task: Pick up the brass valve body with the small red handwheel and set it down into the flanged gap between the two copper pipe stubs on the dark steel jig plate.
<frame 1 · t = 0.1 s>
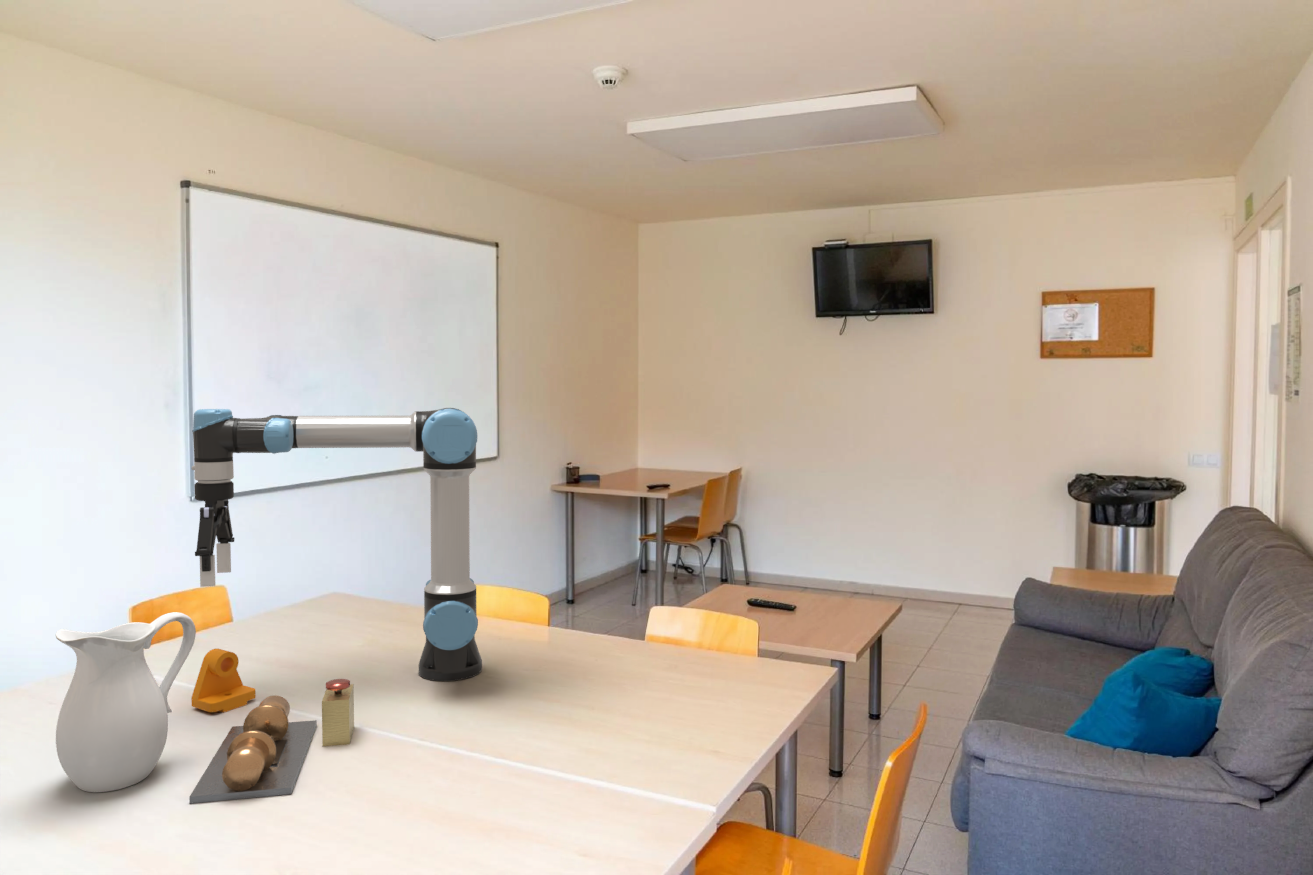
hand: (216, 579, 191), 28 cm above the table, fingers open, 13 cm apart
bracket: (225, 706, 194), on the table
valve: (338, 736, 178), on the table
pitcher: (134, 772, 161), on the table
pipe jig: (259, 760, 166), on the table
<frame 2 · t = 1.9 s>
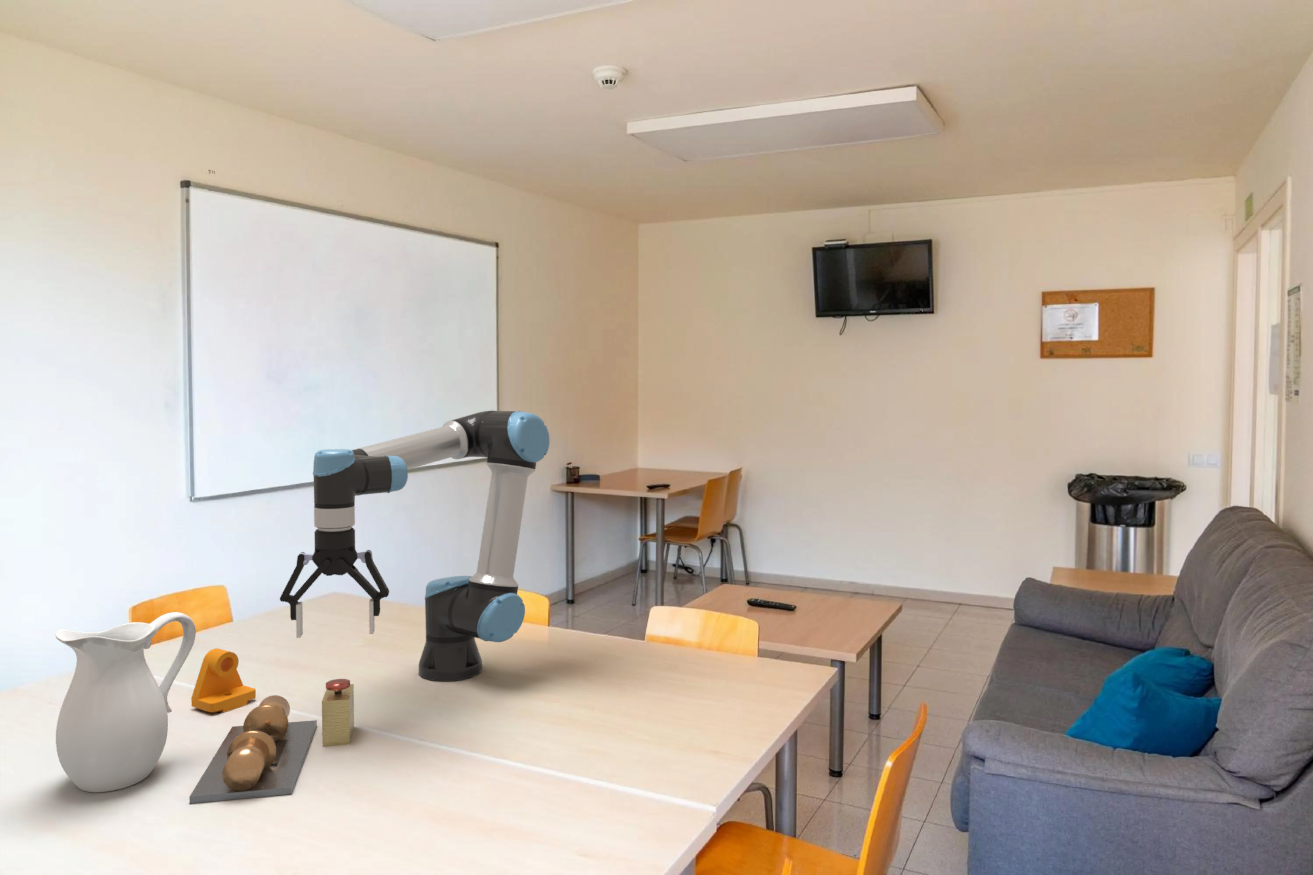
hand: (336, 634, 176), 21 cm above the table, fingers open, 13 cm apart
nothing on the table moved.
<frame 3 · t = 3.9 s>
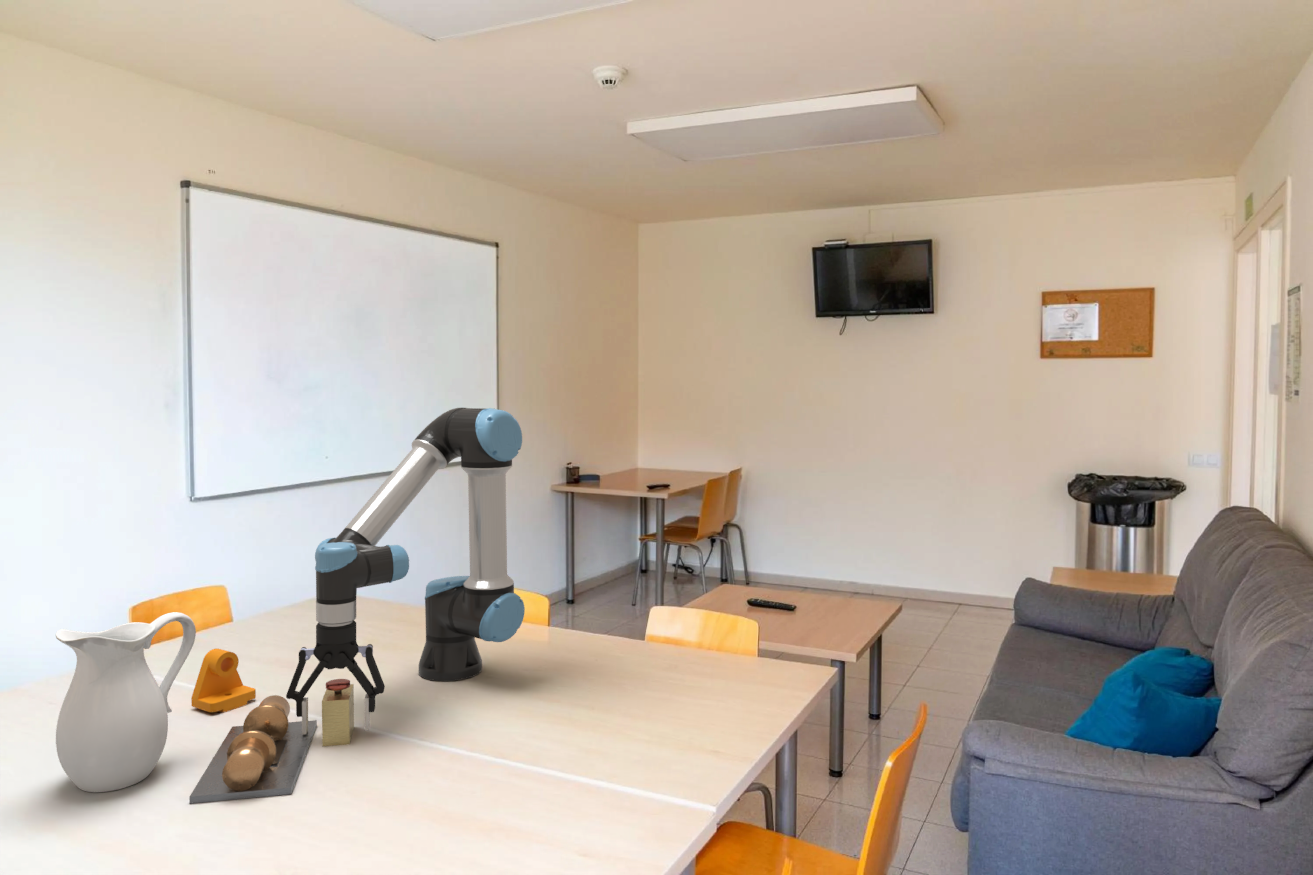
hand: (336, 729, 177), 1 cm above the table, fingers open, 11 cm apart
nothing on the table moved.
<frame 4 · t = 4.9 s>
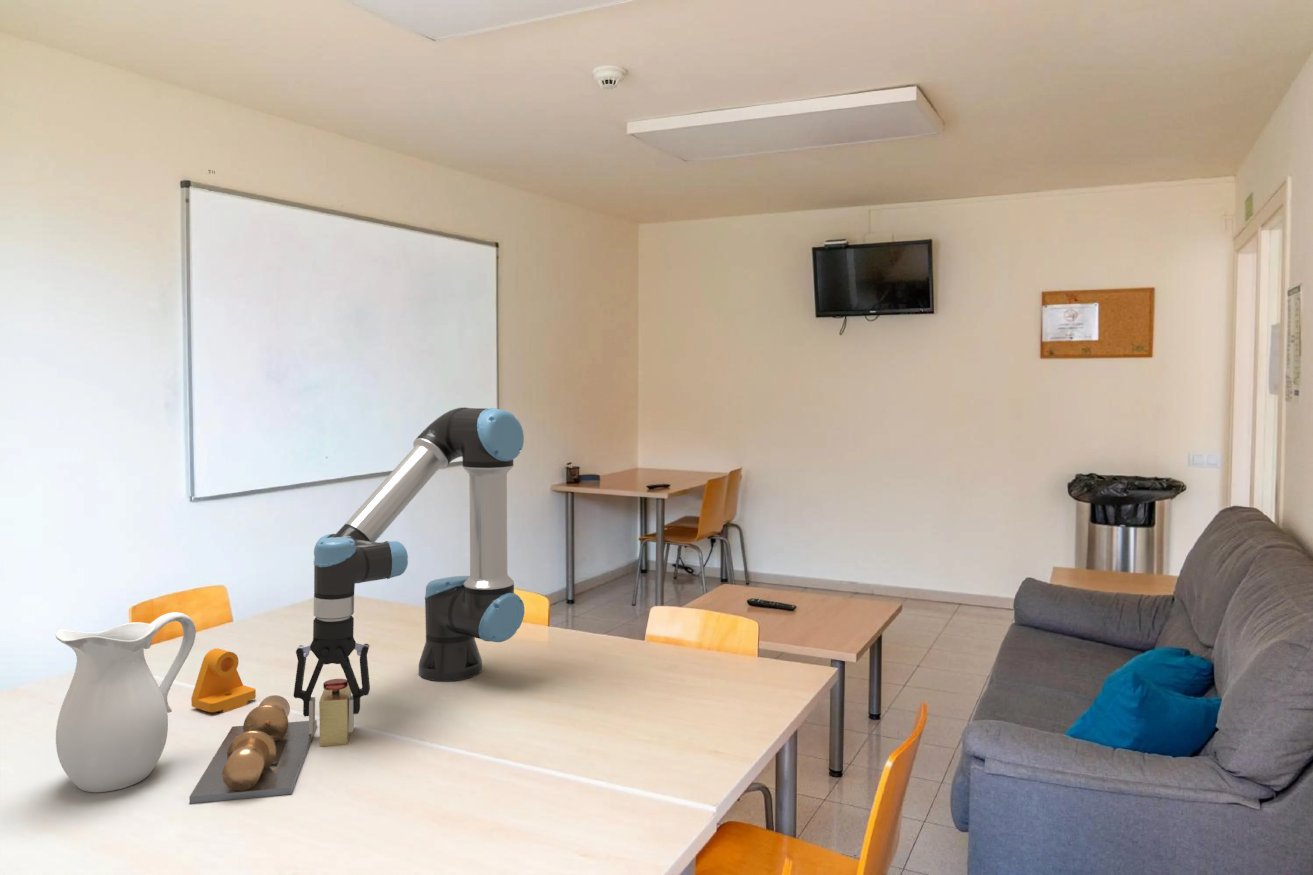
hand: (331, 730, 177), 1 cm above the table, fingers open, 7 cm apart
valve: (336, 736, 177), on the table, touching gripper
everything else where it was.
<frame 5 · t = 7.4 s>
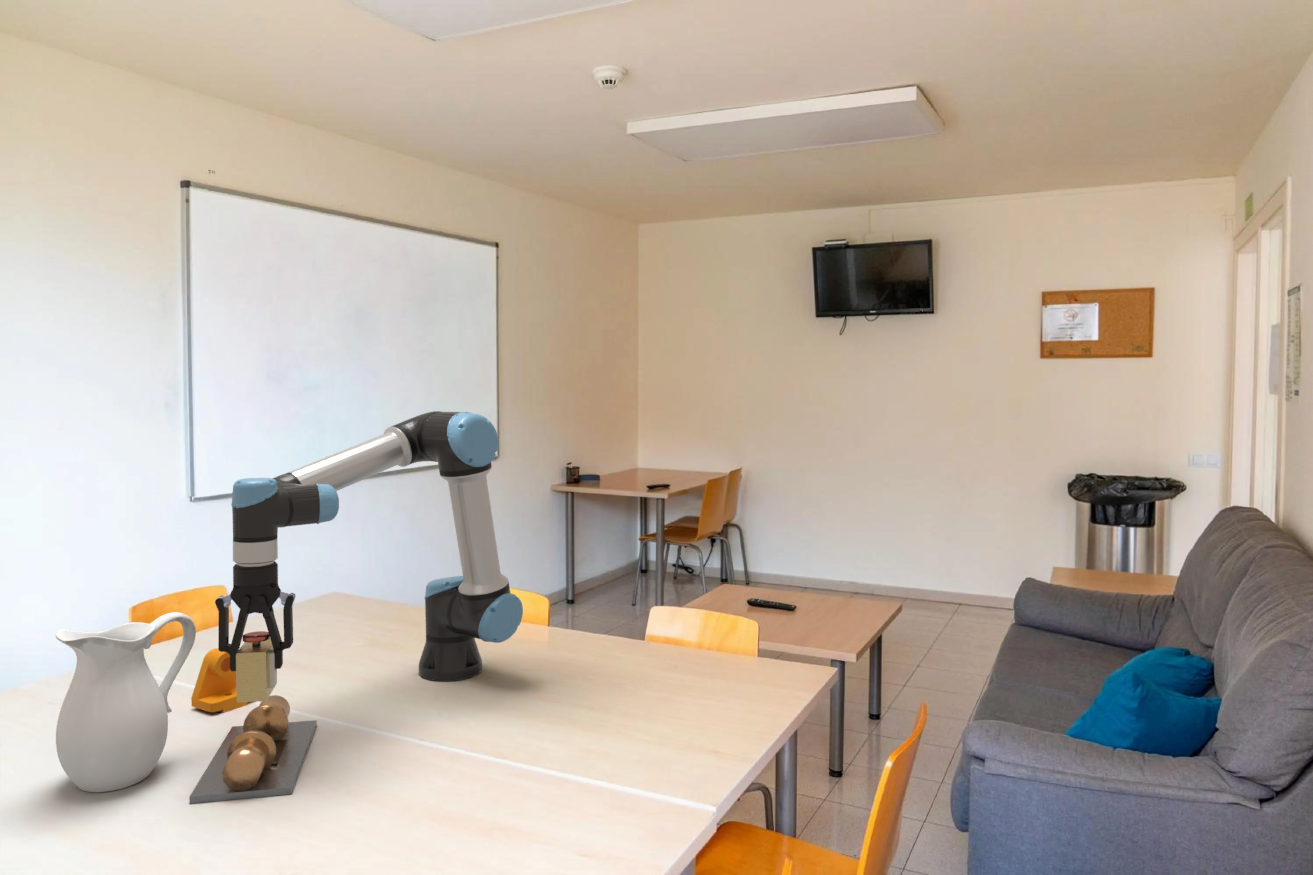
hand: (256, 686, 165), 14 cm above the table, fingers closed on valve, 5 cm apart
valve: (257, 692, 165), point 13 cm above the table, touching gripper
everything else where it was.
when the fingers open (3 cm above the table, at t = 9.4 s): valve stays where it is, resting on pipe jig.
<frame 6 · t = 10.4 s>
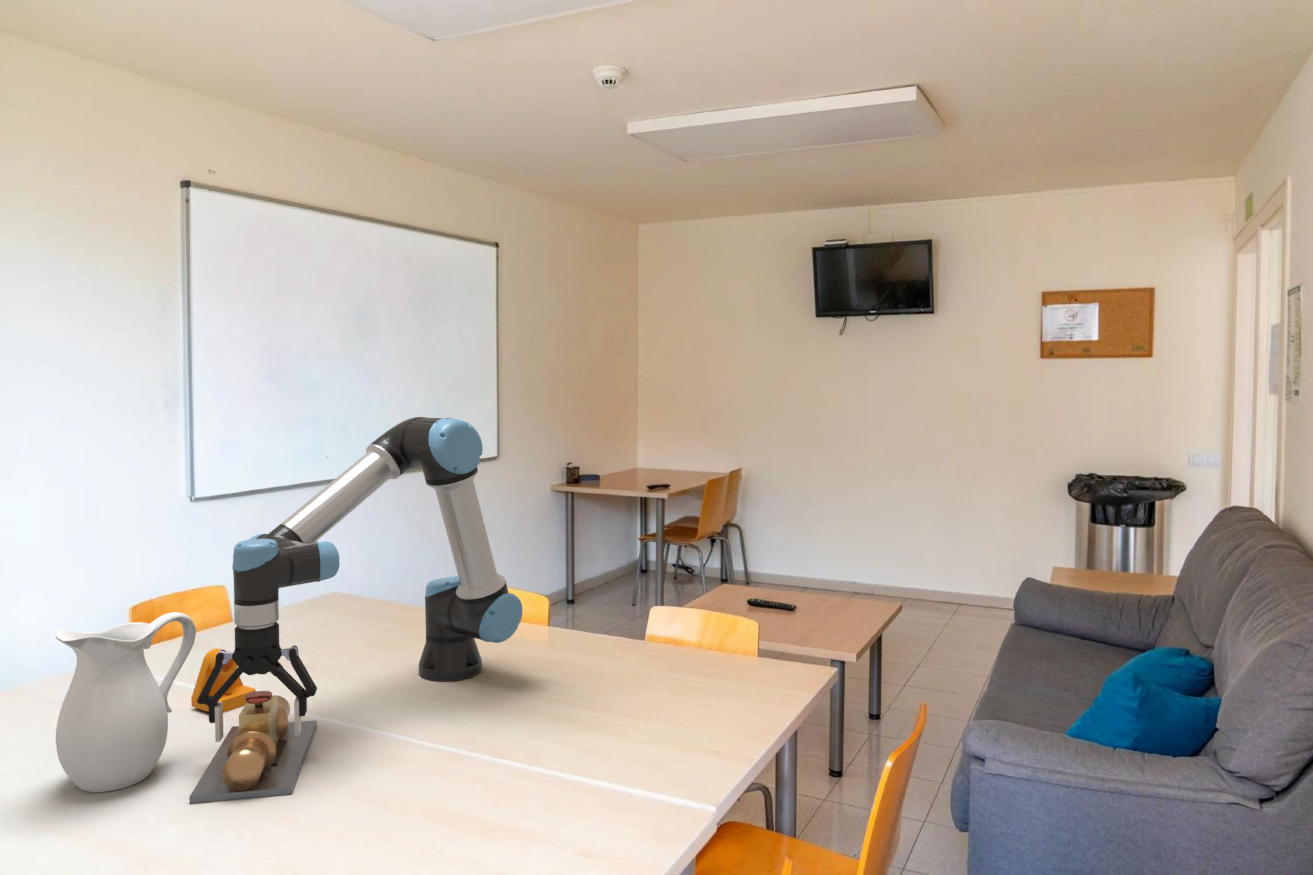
hand: (259, 736, 165), 5 cm above the table, fingers open, 13 cm apart
valve: (259, 752, 166), point 1 cm above the table, touching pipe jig
everything else where it was.
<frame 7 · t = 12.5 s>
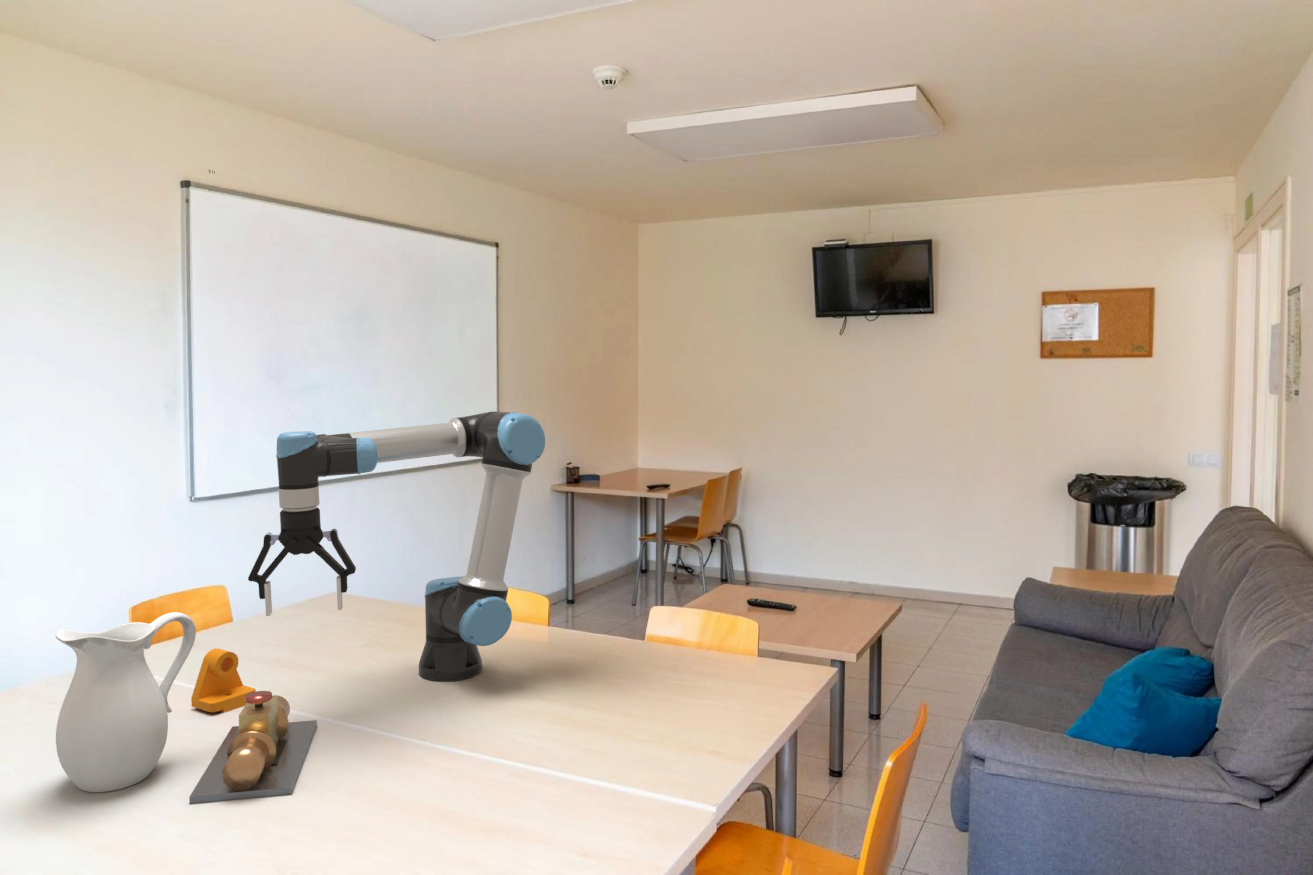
hand: (305, 611, 181), 24 cm above the table, fingers open, 13 cm apart
nothing on the table moved.
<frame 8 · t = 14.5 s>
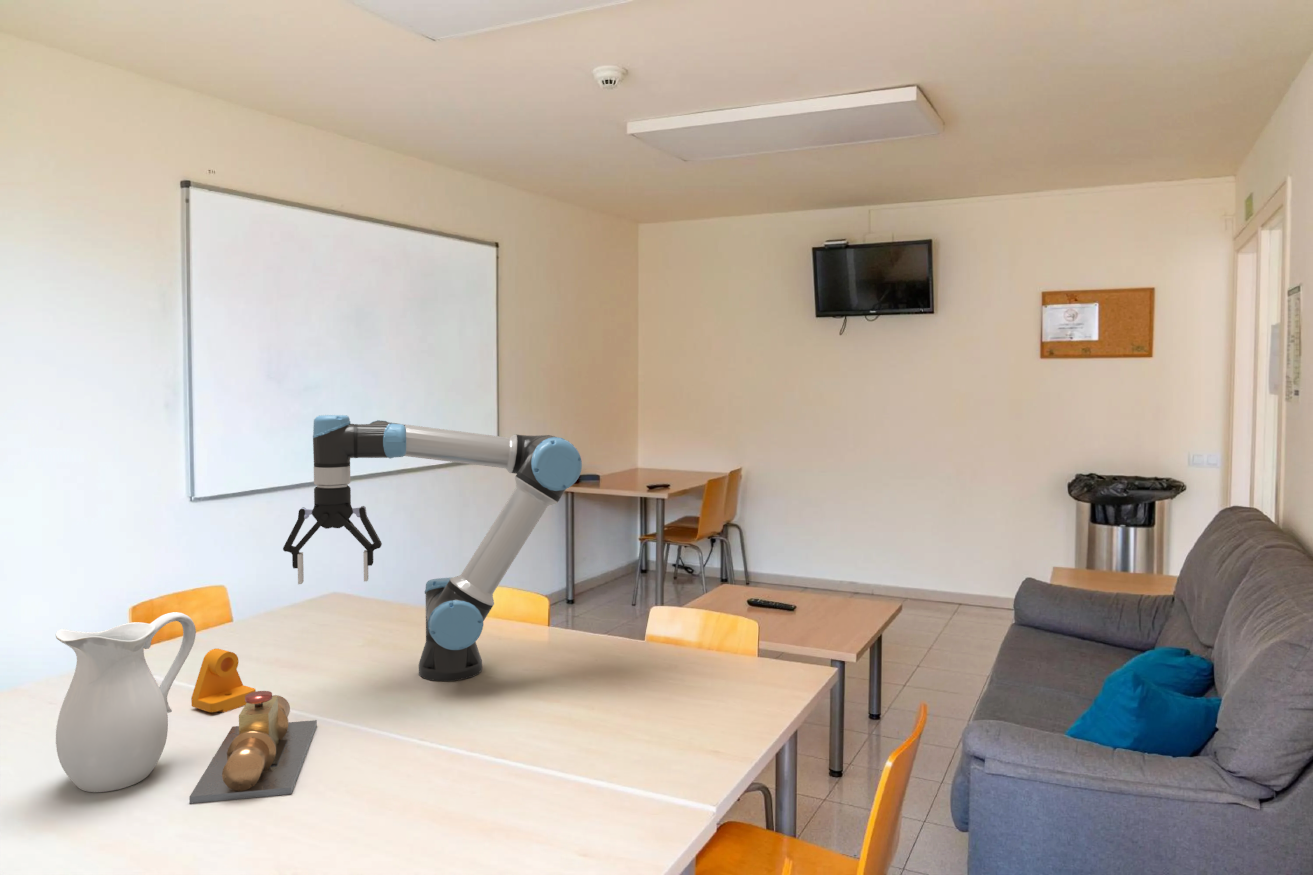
hand: (333, 581, 196), 27 cm above the table, fingers open, 13 cm apart
nothing on the table moved.
at the end: valve inside the target area on the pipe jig (0.1 cm from its centre), point 1.5 cm above the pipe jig's base; valve tilted 0°; the gripper is holding nothing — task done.
